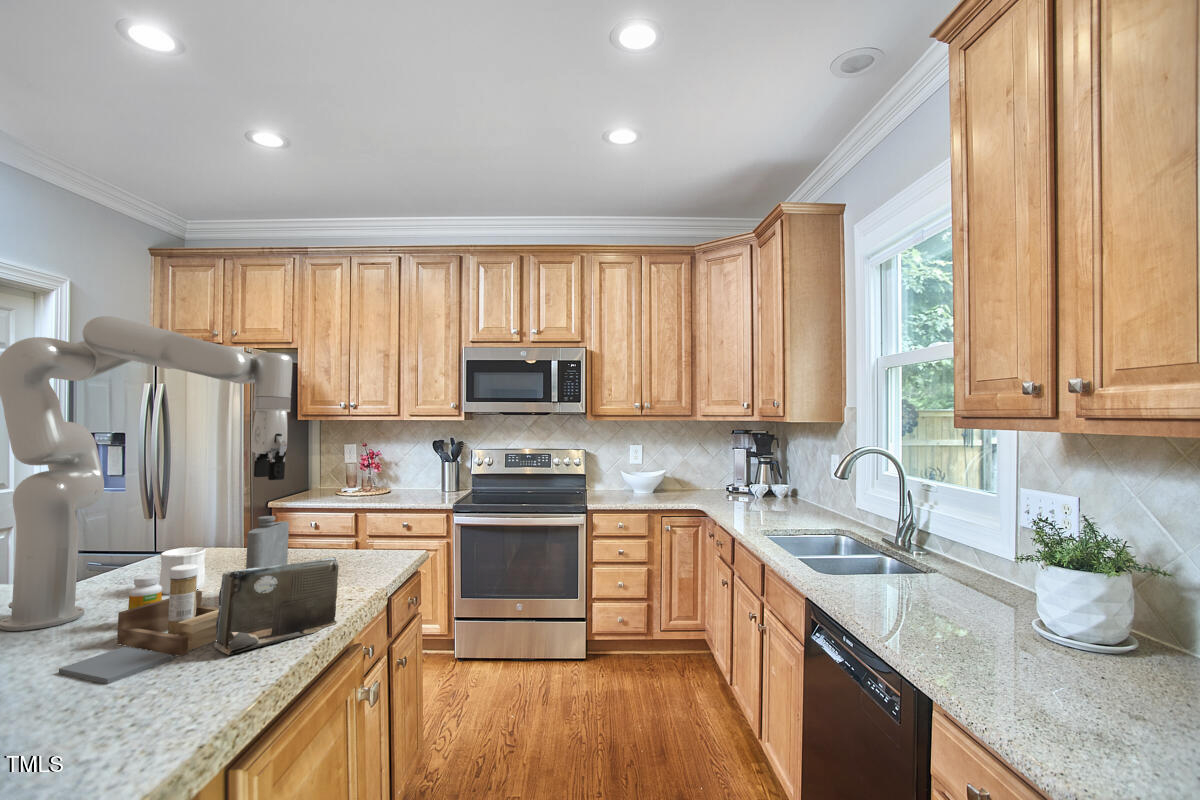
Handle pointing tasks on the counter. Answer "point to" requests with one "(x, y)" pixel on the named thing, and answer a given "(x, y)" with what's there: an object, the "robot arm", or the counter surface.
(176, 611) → the sprinkles bottle
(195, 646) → the offcut stack
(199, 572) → the cup
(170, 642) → the rack
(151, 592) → the supplement bottle
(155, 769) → the counter surface
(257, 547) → the hip flask
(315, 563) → the radio
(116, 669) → the rubber mat
